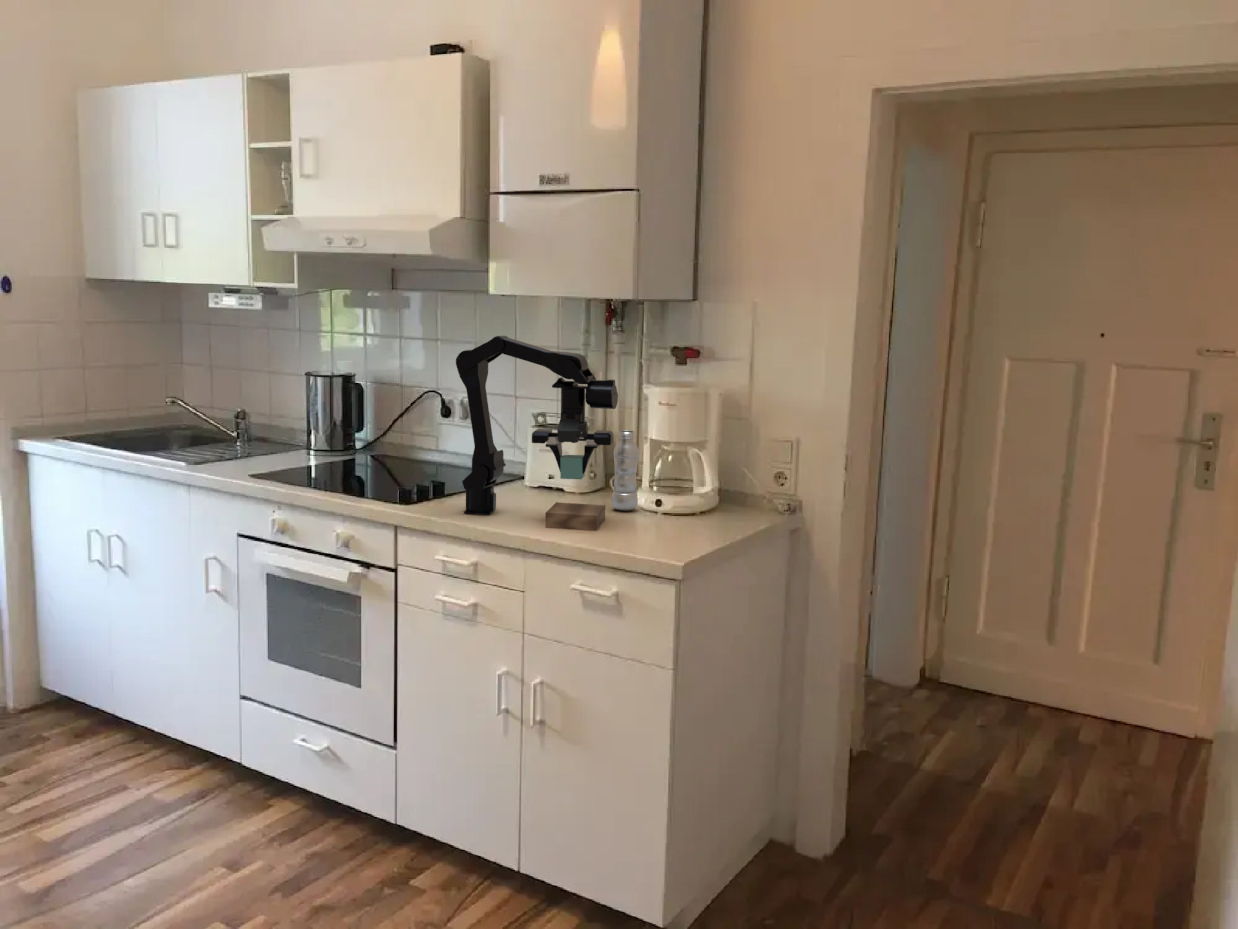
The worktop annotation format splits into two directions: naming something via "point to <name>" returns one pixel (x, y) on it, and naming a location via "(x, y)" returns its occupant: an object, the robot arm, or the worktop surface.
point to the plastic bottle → (625, 472)
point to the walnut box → (575, 516)
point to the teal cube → (571, 467)
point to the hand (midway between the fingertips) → (572, 473)
